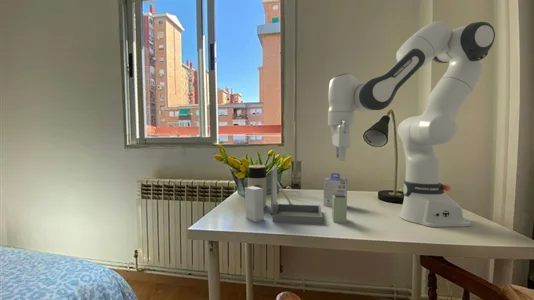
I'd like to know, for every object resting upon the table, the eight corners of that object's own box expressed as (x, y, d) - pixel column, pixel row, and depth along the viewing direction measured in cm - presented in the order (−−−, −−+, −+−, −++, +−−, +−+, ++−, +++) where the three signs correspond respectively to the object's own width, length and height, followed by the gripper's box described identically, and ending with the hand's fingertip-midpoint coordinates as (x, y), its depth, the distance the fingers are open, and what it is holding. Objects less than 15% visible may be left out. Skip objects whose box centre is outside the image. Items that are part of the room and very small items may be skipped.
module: (344, 219, 101) (345, 193, 101) (346, 223, 97) (346, 196, 96) (332, 218, 102) (332, 193, 101) (333, 222, 98) (333, 195, 97)
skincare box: (264, 220, 101) (264, 188, 100) (254, 223, 98) (254, 189, 97) (253, 216, 105) (253, 185, 105) (244, 219, 102) (244, 187, 102)
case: (319, 212, 112) (320, 165, 111) (322, 225, 96) (323, 171, 94) (275, 210, 114) (275, 165, 113) (270, 223, 98) (271, 170, 97)
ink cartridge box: (346, 205, 123) (347, 173, 122) (346, 208, 117) (347, 175, 116) (323, 203, 125) (324, 172, 124) (323, 207, 120) (323, 174, 119)
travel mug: (250, 204, 124) (250, 164, 123) (267, 204, 123) (267, 165, 122) (245, 208, 117) (245, 166, 115) (264, 209, 115) (264, 167, 114)
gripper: (355, 119, 87) (354, 162, 87) (345, 121, 107) (345, 157, 108) (334, 119, 87) (334, 162, 88) (329, 121, 108) (328, 156, 109)
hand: (340, 159), depth 98 cm, fingers open, 8 cm apart
